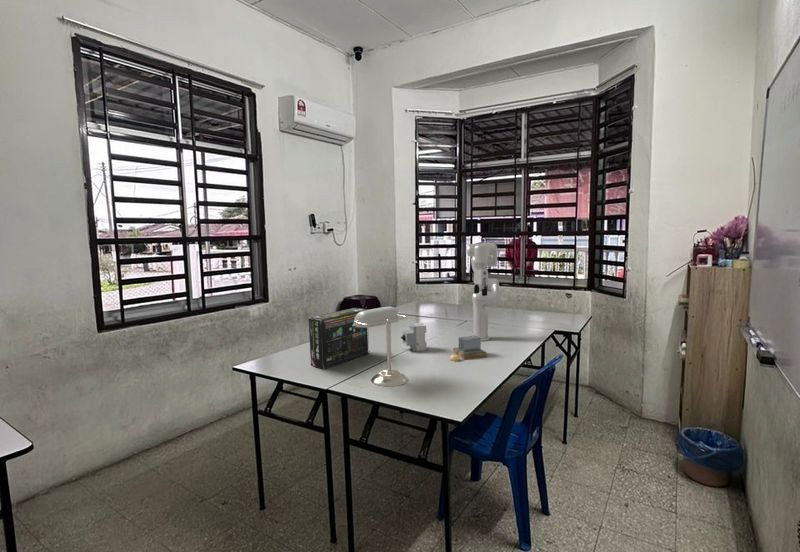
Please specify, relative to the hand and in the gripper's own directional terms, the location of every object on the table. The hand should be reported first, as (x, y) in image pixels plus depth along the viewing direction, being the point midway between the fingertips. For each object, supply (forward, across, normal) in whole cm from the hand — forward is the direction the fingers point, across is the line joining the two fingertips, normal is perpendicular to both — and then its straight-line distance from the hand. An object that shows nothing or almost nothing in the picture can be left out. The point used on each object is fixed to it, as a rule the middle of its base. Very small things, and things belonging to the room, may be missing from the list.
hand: (480, 294), depth 247 cm
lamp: (+34, -29, +67) cm, 80 cm away
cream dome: (+34, -14, +23) cm, 43 cm away
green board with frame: (+33, -8, +11) cm, 36 cm away
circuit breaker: (+34, +13, +38) cm, 52 cm away
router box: (+34, +8, +83) cm, 90 cm away
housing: (+30, -8, +11) cm, 33 cm away
